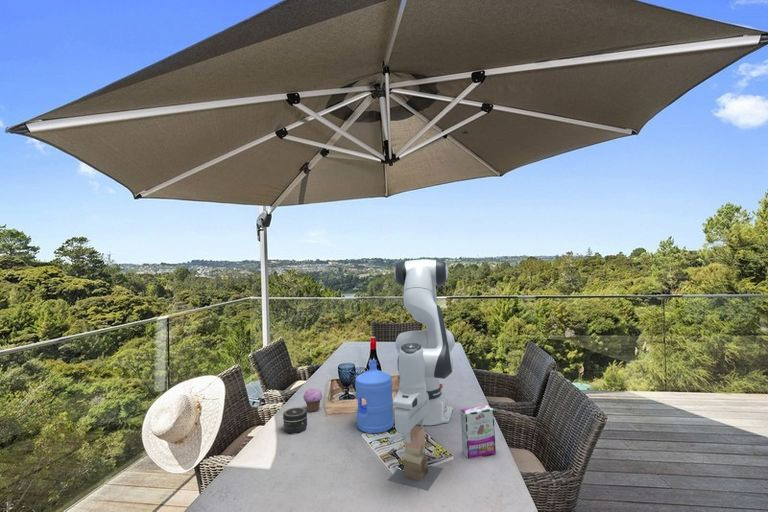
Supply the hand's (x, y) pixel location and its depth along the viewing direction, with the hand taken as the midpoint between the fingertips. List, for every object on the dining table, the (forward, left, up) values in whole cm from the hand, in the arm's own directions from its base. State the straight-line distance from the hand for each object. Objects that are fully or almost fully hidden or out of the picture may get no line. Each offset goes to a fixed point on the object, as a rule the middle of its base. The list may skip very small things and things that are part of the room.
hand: (414, 435), depth 137 cm
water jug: (-28, -31, -14) cm, 44 cm away
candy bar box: (-22, +15, -14) cm, 30 cm away
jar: (-12, -61, -14) cm, 64 cm away
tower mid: (0, 0, -8) cm, 8 cm away
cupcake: (-32, -67, -14) cm, 75 cm away
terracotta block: (0, 0, -3) cm, 3 cm away
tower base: (0, 0, -13) cm, 13 cm away
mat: (0, 0, -13) cm, 13 cm away
